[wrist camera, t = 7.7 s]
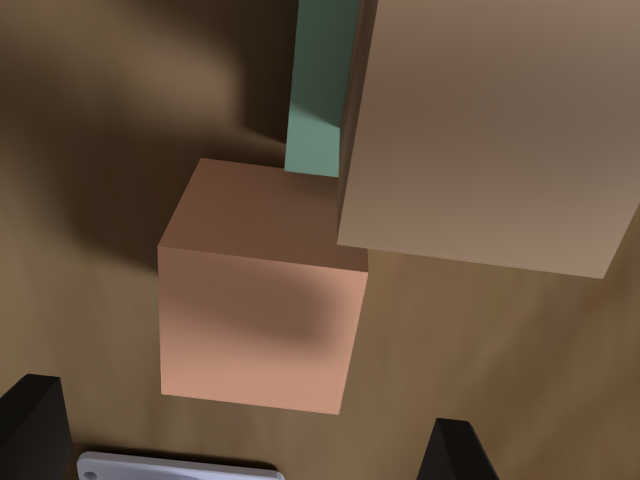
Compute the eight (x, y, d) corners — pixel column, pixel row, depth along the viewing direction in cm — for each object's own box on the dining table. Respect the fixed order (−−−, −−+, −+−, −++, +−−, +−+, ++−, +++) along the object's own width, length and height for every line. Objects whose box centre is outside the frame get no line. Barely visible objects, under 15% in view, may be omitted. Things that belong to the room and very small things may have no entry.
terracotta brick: (340, 303, 19) (338, 414, 15) (199, 285, 19) (161, 394, 15) (363, 177, 16) (368, 272, 13) (201, 156, 16) (157, 246, 13)
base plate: (546, 176, 16) (562, 203, 15) (289, 146, 16) (284, 171, 15) (653, -125, 12) (687, -123, 11) (317, -169, 12) (313, -173, 11)
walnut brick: (526, 153, 14) (602, 278, 10) (339, 128, 14) (336, 244, 10) (598, -54, 12) (739, -5, 8) (373, -88, 12) (387, -57, 7)
